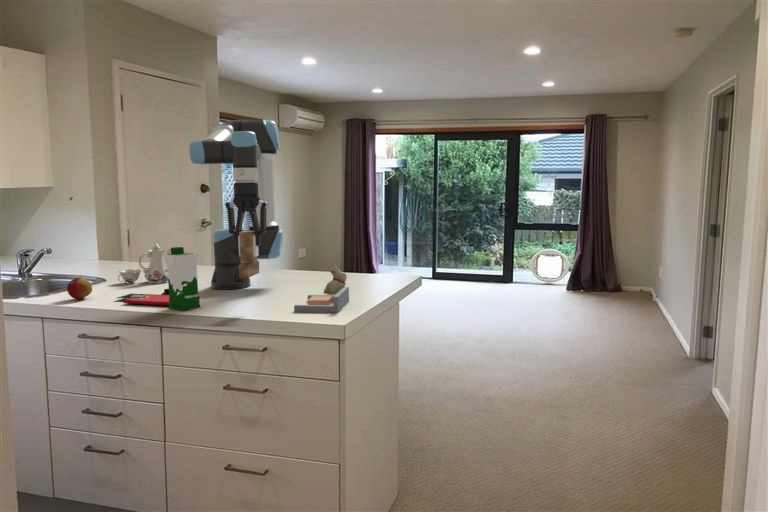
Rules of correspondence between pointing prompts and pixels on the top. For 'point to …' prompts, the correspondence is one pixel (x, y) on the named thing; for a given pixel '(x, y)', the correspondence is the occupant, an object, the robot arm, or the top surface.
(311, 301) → the salmon square block
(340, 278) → the tan bunny-shaped figure
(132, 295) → the red board with handle
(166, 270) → the chinaware
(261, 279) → the top surface
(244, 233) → the stepped wooden beam
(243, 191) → the robot arm
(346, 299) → the frame
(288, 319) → the top surface
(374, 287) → the top surface
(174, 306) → the milk carton
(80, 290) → the apple
